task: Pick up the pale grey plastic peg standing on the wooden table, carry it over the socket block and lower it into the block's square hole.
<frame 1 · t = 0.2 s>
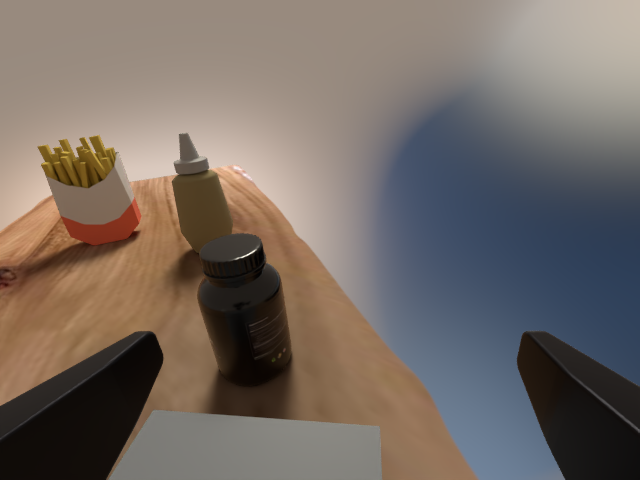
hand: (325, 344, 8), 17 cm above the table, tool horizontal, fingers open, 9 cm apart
squeeze bottle: (213, 247, 52), on the table
supplement bottle: (257, 359, 29), on the table
french fries container: (113, 239, 59), on the table
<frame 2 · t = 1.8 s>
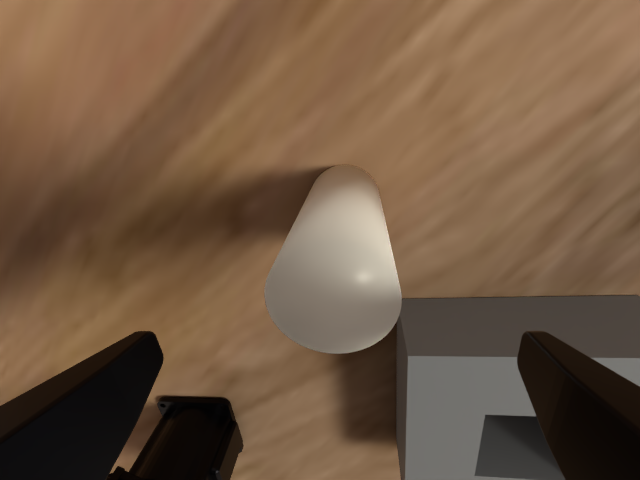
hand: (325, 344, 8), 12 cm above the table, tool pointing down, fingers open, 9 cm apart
socket block: (496, 378, 22), on the table
peg: (344, 199, 18), on the table
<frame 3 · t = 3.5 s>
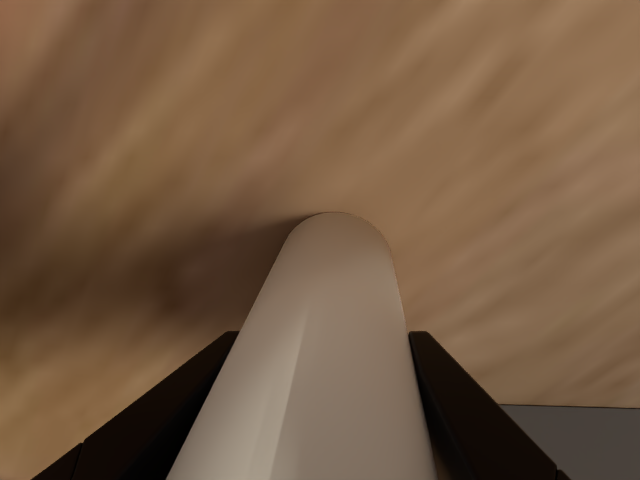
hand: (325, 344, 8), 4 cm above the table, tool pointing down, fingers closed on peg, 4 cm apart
peg: (335, 264, 11), on the table, touching gripper
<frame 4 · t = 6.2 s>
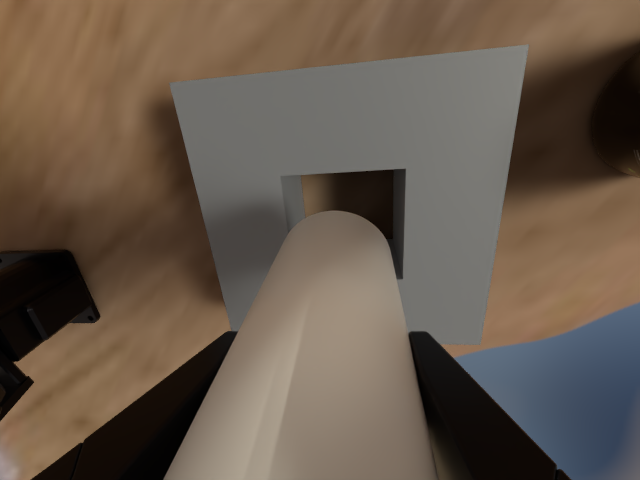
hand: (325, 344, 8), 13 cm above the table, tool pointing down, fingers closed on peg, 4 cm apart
socket block: (347, 199, 20), on the table
peg: (335, 263, 11), point 9 cm above the table, touching gripper
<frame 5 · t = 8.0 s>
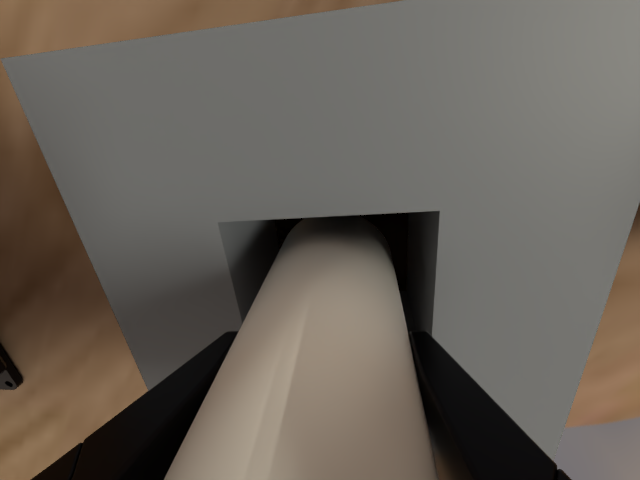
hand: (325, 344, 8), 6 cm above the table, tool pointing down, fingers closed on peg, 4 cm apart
socket block: (340, 237, 13), on the table
peg: (335, 263, 11), point 2 cm above the table, touching gripper
when the fingers open (6 cm above the table, at t = 9.2 s): peg drops 2 cm, resting in socket block.
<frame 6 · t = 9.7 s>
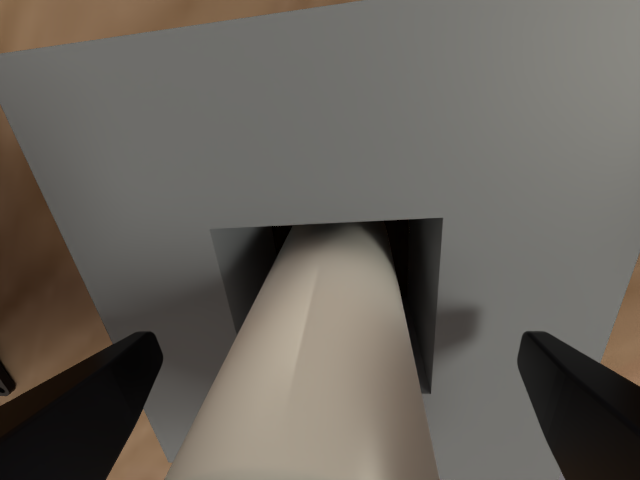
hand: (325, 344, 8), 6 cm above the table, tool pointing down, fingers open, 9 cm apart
socket block: (339, 241, 13), on the table
peg: (339, 240, 13), resting in socket block
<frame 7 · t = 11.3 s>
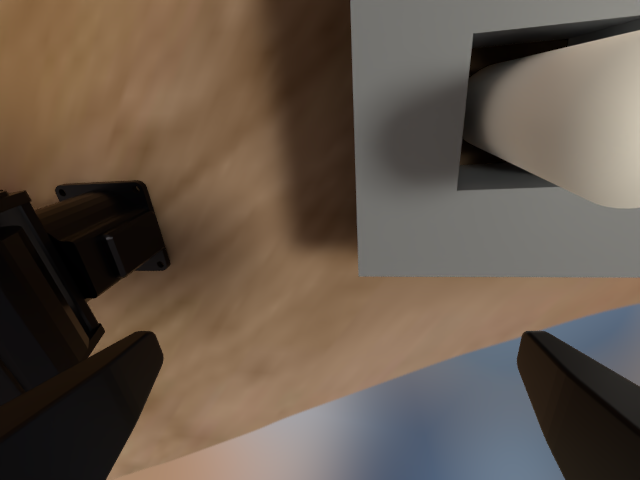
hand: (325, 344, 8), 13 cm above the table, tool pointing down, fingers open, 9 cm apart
socket block: (494, 108, 16), on the table
peg: (494, 107, 16), resting in socket block
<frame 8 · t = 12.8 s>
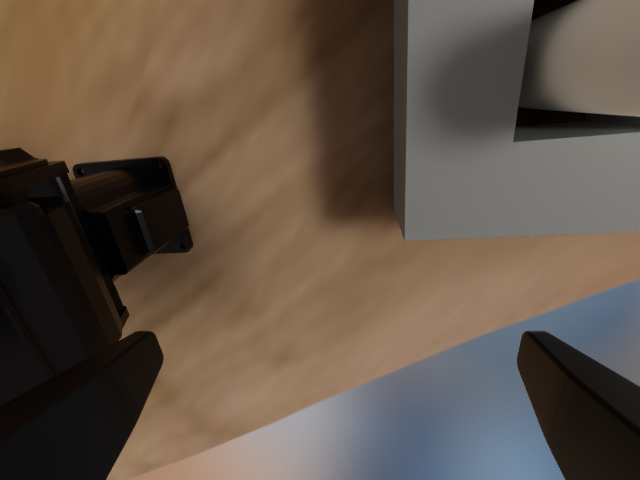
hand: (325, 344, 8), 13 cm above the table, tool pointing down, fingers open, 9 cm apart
socket block: (536, 66, 16), on the table
peg: (536, 64, 16), resting in socket block
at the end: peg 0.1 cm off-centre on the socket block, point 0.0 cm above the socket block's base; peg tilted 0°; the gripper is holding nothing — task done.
